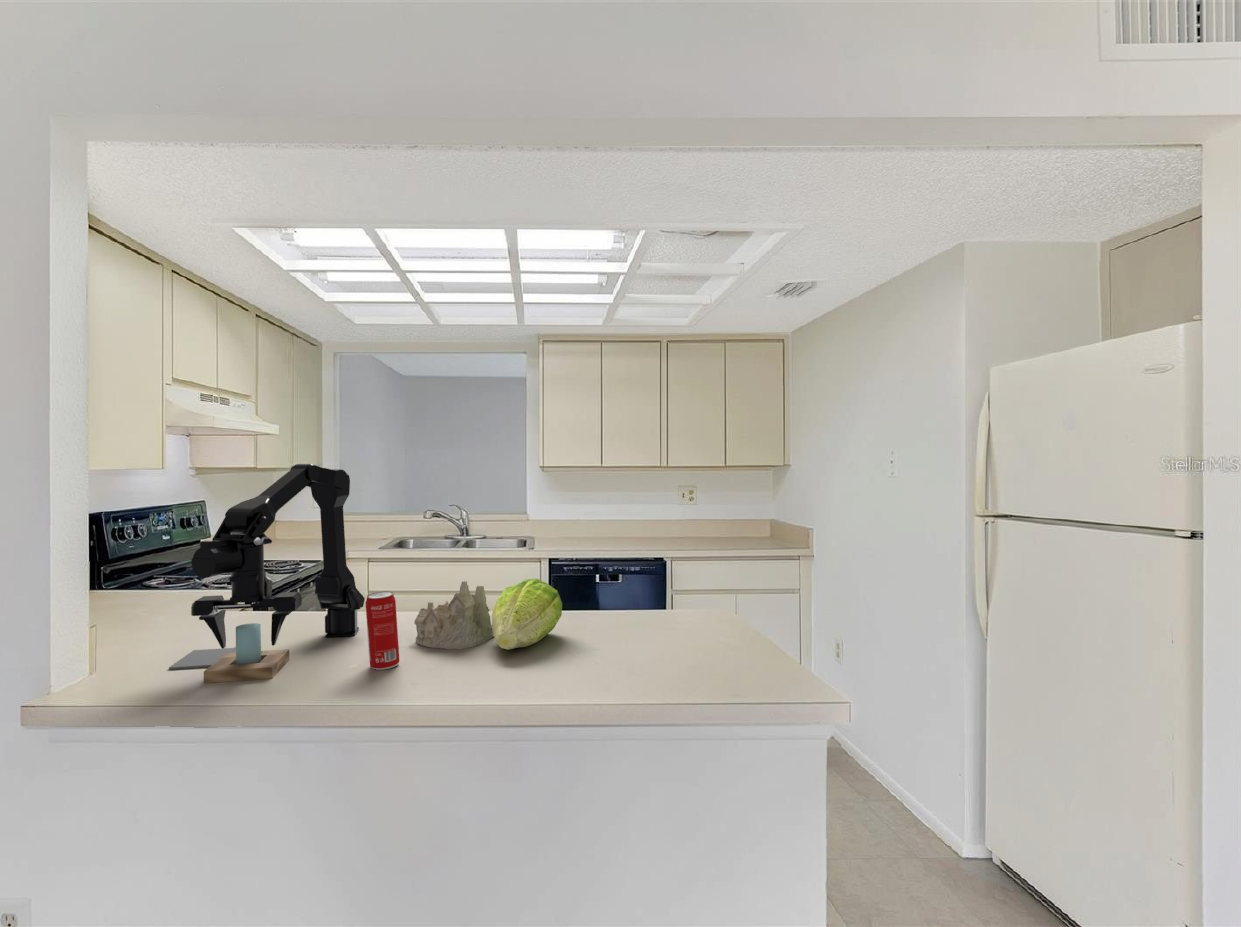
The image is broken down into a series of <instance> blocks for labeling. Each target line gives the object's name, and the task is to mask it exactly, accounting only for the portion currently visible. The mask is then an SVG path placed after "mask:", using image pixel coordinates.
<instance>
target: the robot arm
mask: <svg viewBox="0 0 1241 927" xmlns="http://www.w3.org/2000/svg"><path fill="white" fill-rule="evenodd" d="M350 478H351V477H350V475H349V473H348V472H346V470H344V469H341V468H340V469H336V468H335V469H331V468H326V467H321V466H319V465H316V464H313V463H297V464H294V465H292V466H291V467H290V470H289V471H287V472H286V473H285V474H284V475H283V476H281V477H280V478H278V479H277V480H276V481H275V482H273V483H272V484H271V485H270V486H269V487H267V488H266V489H265V490H264V491H262V492H261V493H260V494H258V495H256V496H255V497H253V498H250V499H246V500H244V501H241V502H239V503H237V504H235V505H234V506H231V507H229V508H228V509H227V511H226V512H225V514H224V518H223V520H222V522H221V524H220V526H219V527H218V528H217V530H216V532H215V534H214V536H213V538H212V540H202V541H200V542H199V543H200V545H199V546H200V548H198V549H196V551H195V552H194V553H193V556H192V558H191V560H190V561H191V563H190V564H191V567H192V570H193V572H194V574H195V575H196V576H197V577H199V578H202V579H207V578H211V577H212V578H213V577H216V576H221V575H225V574H226V575H227V574H230V573H231V574H230V576H229V583H231V597H229V599H225V597H224V596H223V594H222V595H221V594H220V595H204V596H202V597H200V598H198V599H196V600H194V601H193V603H191V607H190V609H191V610H190V614H191V616H192V617H198V620H199V621H204V622H205V624H206V625H207V626H208V628H209V629H210V630H211V632H212V634H213V636H214V637H215V639H216V641H217V643H218V644H219V646H220V649H222V648H227V646H226V645H227V637H226V636H227V635H226V626H225V624H226V623H225V616H226V610H238V609H239V610H240V609H257V608H272V609H274V610H275V611H273V613H272V614H271V631H270V632H271V634H270V635H271V636H270V641H271V646H275V645H276V643H277V641H278V639H279V638H278V637H279V635H280V632H281V629H282V626H283V623H284V622H285V619H286V618H287V616H289V615H290V614H291V613H293V612H295V611H296V610H298V609H299V608H300V607H301V606H302V605H303V602H302V601H303V599H302V598H303V597H302V594H300V592H298V591H295V592H294V591H293V592H292V591H291V592H288V591H287V592H280V593H278V594H277V595H276V596H274V597H272V593H273V581H272V580H271V579H270V578H269V579H268V578H267V575H266V574H267V573H266V570H265V561H264V560H265V558H264V557H265V556H264V553H265V552H264V551H265V550H264V545H268V544H269V545H270V544H272V542H273V540H272V539H271V538H270V537H268V536H267V535H266V532H267V531H268V529H269V528H270V527H271V526H272V524H273V523H274V522H275V520H276V514H277V513H278V511H279V510H281V509H282V508H283V507H285V505H286V504H288V503H289V502H290V501H291V500H293V498H294V497H297V495H298V494H299V493H300V492H302V490H304V489H305V488H306V487H307V488H310V492H311V496H312V498H313V499H314V502H316V504H317V506H318V507H319V512H320V513H319V514H320V526H321V528H320V529H321V530H320V531H321V543H322V544H321V546H322V560H323V562H322V563H323V567H322V568H323V569H322V571H321V572H320V574H319V576H316V577H315V578H314V586H315V590H314V594H315V595H316V598H317V600H318V602H319V605H320V609H322V610H326V611H327V612H326V615H325V616H324V633H325V638H334V637H335V638H336V637H339V638H340V637H351V636H352V637H354V636H355V635H356V634H357V633H358V632H359V630H360V627H359V626H358V610H361V608H364V604H365V601H366V598H365V597H364V595H362V593H361V591H359V590H358V589H357V586H356V581H355V576H354V574H353V573H352V572H351V570H350V569H349V567H348V566H347V555H346V553H347V552H346V551H347V550H346V539H345V538H346V537H345V535H346V534H345V521H344V520H345V519H344V518H345V517H344V505H345V503H346V501H347V499H348V498H349V496H350V492H351V491H350V488H351V480H350Z"/></svg>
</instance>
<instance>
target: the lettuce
mask: <svg viewBox="0 0 1241 927" xmlns="http://www.w3.org/2000/svg"><path fill="white" fill-rule="evenodd" d="M562 611H563V602H562V599H561V596H560V593H559V591H558V590H557V589H556V588H554V587H553V586H552V585H550V584H549V583H547V582H546V581H543V580H541V579H539V578H529V579H524V580H522V581H521V582H518V583H517V584H514V585H511V586H508V587H506V588H504V589H503V590H502V591H501V594H500V595H499V597H498V599H497V600H496V603H495V604H494V606H493V609H492V612H491V615H490V617H491V625H492V631H493V635H494V637H493V638H494V639H495V641H496V643H497V645H498V646H499V647H500V648H501V649H505V650H508V651H509V650H514V649H516V648H527V647H529V646H532V645H534V644H536V643H538V642H539V641H541V640H542V639H544V638H545V637H546V636H547V635H548V634H550V633H551V631H553V629H555V627H556V626H557V624H558V622H559V620H560V619H561V617H562V614H563V612H562Z"/></svg>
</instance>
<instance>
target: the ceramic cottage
mask: <svg viewBox="0 0 1241 927" xmlns="http://www.w3.org/2000/svg"><path fill="white" fill-rule="evenodd" d="M426 607H427V608H425V607H421V608H420V610H419V612H418V614H417V615H416V617H415V619H414V621H413V622H414V625H416V626H415V627H416V633H417V634H416V637H415V644H417V645H421V646H424V647H428V648H430V649H431V648H432V649H433V648H434V649H444V650H446V649H447V650H448V649H449V650H453V649H455V650H460V649H466V648H472V647H477V646H479V645H481V644H483V643H485V642H487V641H489V640H490V639H493V638H495V637H494V635H493V631H492V619H491V615H490V612H489V611H490V609H489V606H488V605H487V596H486V593H485V587H484V585H483V584H477V586H476V587H475V593H471V592H470V588H469V584H468V581H467V580H462V581H461V583H460V586H459V591H458V592H455V594H454V595H453V597H452V599H451V601H450V602H449V601H447V600H446V601H444V603H441V604H438V605H437V606H435V607H434V602H433V601H431V602H430V601H428V602H427V606H426Z"/></svg>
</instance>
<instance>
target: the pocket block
mask: <svg viewBox="0 0 1241 927" xmlns="http://www.w3.org/2000/svg"><path fill="white" fill-rule="evenodd" d="M289 661H290V649H289V648H287V649H286V648H285V649H272V650H271V649H268V650H261V662H260V663H252V664H236V652H234V653H226V654H225V655H224V656H222V657H221V658H220V659H219V660H217V661H216V662H215V663H214V664H212V665H211V666H210V667H207V668H206V669H205V670H203V683H204V684H207V683H208V684H209V683H211V684H212V683H223V682H224V683H225V682H239V681H240V682H241V681H254V680H266V679H267V680H268V679H273V678H274V677H275V676H276V675H277V674H278V673H279V671H280V672H281V669H282V668H284V666H285V665H286V664H287V663H288V662H289Z"/></svg>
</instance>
